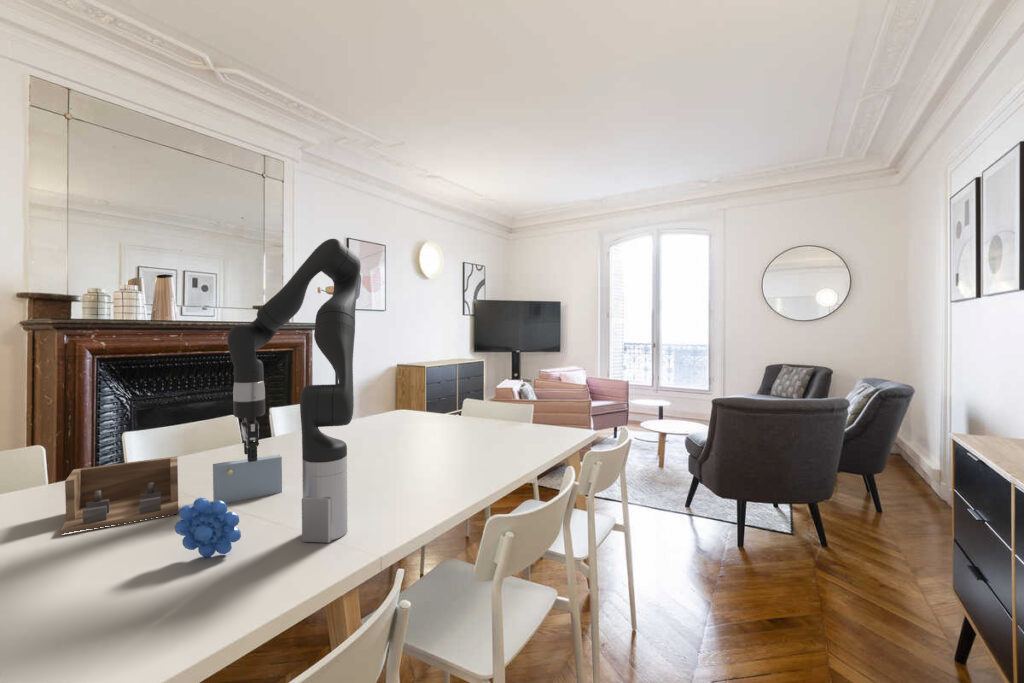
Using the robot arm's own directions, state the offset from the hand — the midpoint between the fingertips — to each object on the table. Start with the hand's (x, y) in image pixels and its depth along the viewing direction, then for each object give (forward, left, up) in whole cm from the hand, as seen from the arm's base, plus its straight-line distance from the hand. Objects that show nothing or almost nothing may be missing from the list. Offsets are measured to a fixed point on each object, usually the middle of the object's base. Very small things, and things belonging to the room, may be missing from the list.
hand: (250, 457), depth 128 cm
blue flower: (-34, -13, -11) cm, 38 cm away
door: (-1, 0, -11) cm, 11 cm away
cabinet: (-14, +23, -11) cm, 29 cm away
